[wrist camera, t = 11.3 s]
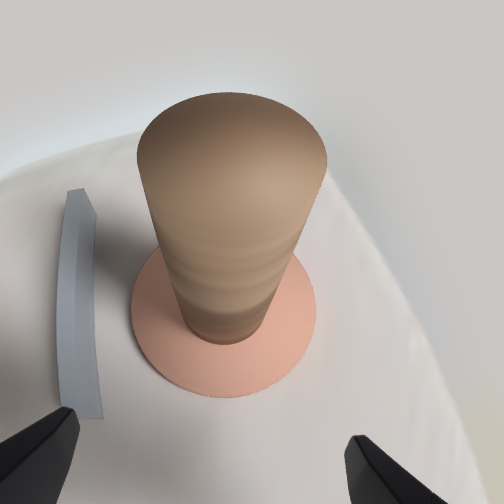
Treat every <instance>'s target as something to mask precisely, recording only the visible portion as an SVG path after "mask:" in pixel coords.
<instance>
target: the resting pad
mask: <svg viewBox="0 0 504 504" xmlns="http://www.w3.org/2000/svg"><path fill="white" fill-rule="evenodd" d="M131 317H132V324H133V329H134V332H135V336H136V339H137V341H138V343H139V345H140V347H141V349H142V351H143V353H144V354H145V356H146V357H147V359H148V360H149V361H150V363H151V364H152V365H153V366H154V367H155V368H156V369H157V370H158V371H159V372H160V373H161V374H162V375H163V376H165V377H166V378H167V379H169V380H170V381H172V382H173V383H175V384H176V385H178V386H180V387H182V388H184V389H186V390H188V391H190V392H193V393H197V394H200V395H204V396H210V397H218V398H231V397H240V396H245V395H249V394H252V393H255V392H258V391H260V390H263V389H265V388H267V387H269V386H271V385H272V384H274V383H276V382H277V381H279V380H280V379H281V378H283V377H284V376H285V375H286V374H288V373H289V372H290V371H291V370H292V369H293V368H294V366H295V365H296V364H297V363H298V362H299V360H300V359H301V357H302V356H303V355H304V353H305V351H306V349H307V347H308V345H309V343H310V340H311V337H312V334H313V331H314V326H315V319H316V304H315V296H314V292H313V287H312V285H311V282H310V279H309V277H308V275H307V273H306V271H305V269H304V267H303V266H302V264H301V263H300V262H299V260H298V259H297V257H296V256H295V255H294V254H292V256H291V258H290V261H289V263H288V265H287V267H286V270H285V272H284V274H283V277H282V279H281V281H280V284H279V286H278V288H277V290H276V293H275V295H274V297H273V299H272V302H271V304H270V306H269V308H268V311H267V313H266V315H265V317H264V319H263V322H262V324H261V325H260V327H259V328H258V329H257V331H256V332H255V333H254V334H253V335H251V336H250V337H249V338H247V339H245V340H243V341H241V342H239V343H235V344H231V345H217V344H212V343H209V342H206V341H204V340H202V339H201V338H199V337H197V336H196V335H195V334H194V333H193V332H192V331H191V330H190V329H189V328H188V326H187V325H186V323H185V321H184V319H183V316H182V314H181V311H180V308H179V305H178V302H177V299H176V296H175V293H174V290H173V287H172V284H171V281H170V278H169V275H168V271H167V268H166V265H165V262H164V259H163V255H162V252H161V249H160V246H159V247H158V248H157V249H156V250H155V251H154V252H153V253H152V254H151V256H150V257H149V258H148V259H147V261H146V262H145V264H144V265H143V267H142V269H141V270H140V272H139V275H138V277H137V279H136V282H135V285H134V289H133V293H132V300H131Z"/></svg>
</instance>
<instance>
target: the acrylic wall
mask: <svg viewBox="0 0 504 504" xmlns="http://www.w3.org/2000/svg"><path fill="white" fill-rule="evenodd" d="M95 223H96V213H95V211H94V209H93V207H92V205H91V203H90V201H89V198H88V196H87V194H86V192H85V190H84V188H82V189H77V190H72V191H68V193H67V199H66V205H65V212H64V219H63V226H62V235H61V244H60V254H59V266H58V281H57V307H56V339H57V365H58V380H59V391H60V401H61V407H62V406H66V407H69V408H72V409H74V410H75V412H76V415H77V418H78V419H100V418H103V414H102V407H101V400H100V392H99V383H98V374H97V363H96V350H95V334H94V307H93V266H94V239H95Z"/></svg>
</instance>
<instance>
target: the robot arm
mask: <svg viewBox="0 0 504 504" xmlns="http://www.w3.org/2000/svg"><path fill="white" fill-rule="evenodd" d="M79 432H80V424H79V421H78V418H77V415H76V412H75V410H74V409H72V408H69V407H66V406H62V407H60V408H59V409H57V410H55V411H54V412H52V413H50V414H49V415H47V416H45V417H44V418H42V419H40V420H39V421H37V422H35V423H34V424H32V425H30V426H29V427H27V428H25V429H24V430H22V431H20V432H19V433H17V434H15V435H13V436H12V437H10V438H8V439H7V440H5V441H3V442H1V443H0V504H56V503H57V500H58V497H59V495H60V492H61V489H62V487H63V484H64V481H65V479H66V476H67V474H68V471H69V468H70V465H71V462H72V458H73V454H74V450H75V446H76V443H77V439H78V436H79ZM344 458H345V465H346V473H347V482H348V490H349V495H350V500H351V504H448V503H447V502H445V501H444V500H443V499H441V498H440V497H439V496H437V495H436V494H435V493H432V491H431V490H430V489H428V488H427V487H426V486H425V485H423V484H422V483H421V482H420V481H418V480H417V479H416V478H415V477H414V476H412V475H411V474H410V473H409V472H407V471H406V470H405V469H404V468H403V467H401V466H400V465H399V464H398V463H397V462H396V461H394V460H393V459H392V458H391V457H390V456H388V455H387V454H386V453H385V452H384V451H383V450H381V449H380V448H379V447H378V446H377V445H376V444H375V443H373V442H372V441H371V440H370V439H369V438H368V437H367V436H365V435H354V436H352V437H351V439H350V441H349V443H348V445H347V447H346V450H345V453H344Z"/></svg>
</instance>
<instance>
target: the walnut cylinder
mask: <svg viewBox="0 0 504 504" xmlns="http://www.w3.org/2000/svg"><path fill="white" fill-rule="evenodd" d="M137 164H138V168H139V172H140V176H141V180H142V184H143V188H144V192H145V196H146V200H147V203H148V207H149V211H150V214H151V218H152V221H153V225H154V228H155V232H156V235H157V239H158V242H159V246H160V249H161V252H162V255H163V259H164V262H165V265H166V268H167V271H168V275H169V278H170V281H171V284H172V287H173V290H174V293H175V296H176V299H177V302H178V305H179V308H180V311H181V314H182V316H183V319H184V321H185V323H186V325H187V326H188V328H189V329H190V330H191V331H192V332H193V333H194V334H195V335H196V336H197V337H199V338H201V339H202V340H204V341H206V342H209V343H212V344H217V345H231V344H235V343H239V342H241V341H243V340H245V339H247V338H249V337H250V336H251V335H253V334H254V333H255V332H256V331H257V329H258V328H259V327H260V325H261V324H262V322H263V319H264V317H265V315H266V313H267V311H268V308H269V306H270V304H271V302H272V299H273V297H274V295H275V293H276V290H277V288H278V286H279V284H280V281H281V279H282V277H283V274H284V272H285V270H286V267H287V265H288V263H289V261H290V258H291V256H292V254H293V251H294V249H295V247H296V244H297V242H298V239H299V237H300V235H301V232H302V230H303V228H304V225H305V223H306V220H307V218H308V216H309V213H310V211H311V208H312V206H313V203H314V201H315V199H316V196H317V194H318V191H319V189H320V186H321V184H322V181H323V179H324V176H325V173H326V168H327V155H326V150H325V146H324V144H323V141H322V139H321V137H320V136H319V134H318V132H317V131H316V130H315V129H314V127H313V126H312V125H311V124H310V123H309V122H308V121H307V120H306V119H305V118H304V117H302V116H301V115H300V114H298V113H297V112H295V111H294V110H292V109H291V108H289V107H287V106H285V105H283V104H281V103H279V102H276V101H274V100H271V99H268V98H264V97H261V96H256V95H252V94H245V93H232V92H229V93H228V92H225V93H212V94H205V95H200V96H196V97H193V98H189V99H187V100H184V101H181V102H179V103H177V104H175V105H173V106H171V107H169V108H168V109H166V110H165V111H163V112H162V113H161V114H159V115H158V116H157V117H156V118H155V119H154V120H153V121H152V122H151V123H150V124H149V126H148V127H147V128H146V129H145V131H144V133H143V134H142V136H141V139H140V141H139V144H138V149H137Z"/></svg>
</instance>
